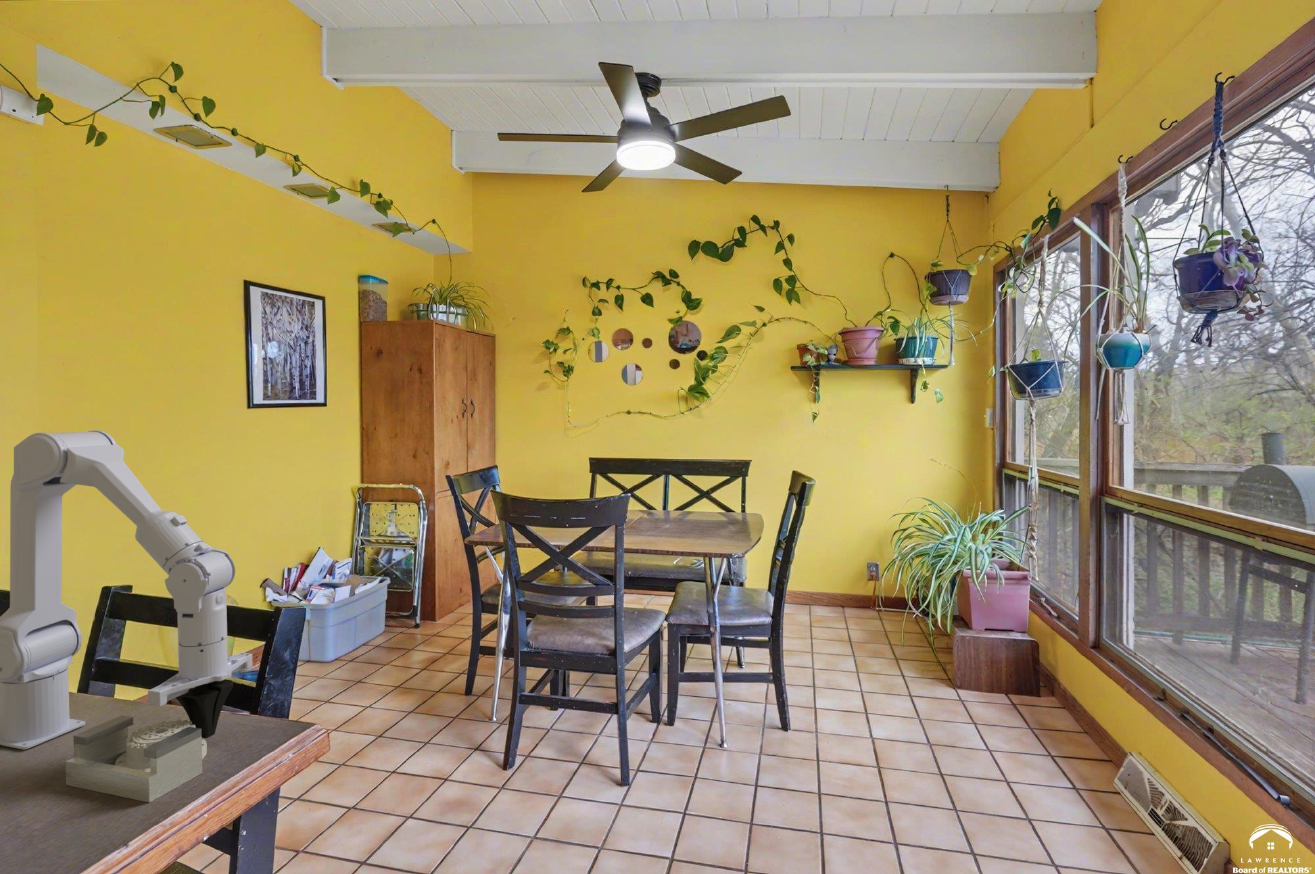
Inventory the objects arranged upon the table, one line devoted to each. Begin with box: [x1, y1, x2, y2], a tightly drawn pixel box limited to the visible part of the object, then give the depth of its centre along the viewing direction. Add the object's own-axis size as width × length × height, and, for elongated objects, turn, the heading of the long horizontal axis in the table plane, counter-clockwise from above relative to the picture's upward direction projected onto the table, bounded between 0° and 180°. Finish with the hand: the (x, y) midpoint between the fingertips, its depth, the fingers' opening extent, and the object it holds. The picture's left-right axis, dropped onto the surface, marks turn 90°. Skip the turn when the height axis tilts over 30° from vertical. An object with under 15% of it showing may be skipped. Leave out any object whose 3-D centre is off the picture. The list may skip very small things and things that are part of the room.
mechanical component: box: [115, 719, 208, 772], centre depth 92 cm, size 10×4×10 cm
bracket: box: [64, 715, 203, 803], centre depth 88 cm, size 14×7×6 cm, turn 74°
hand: (205, 735), depth 98 cm, fingers closed
